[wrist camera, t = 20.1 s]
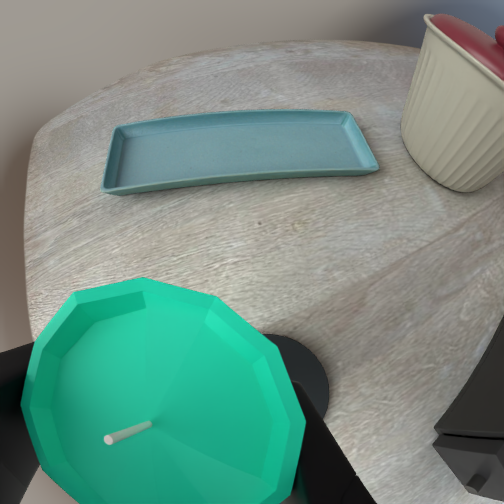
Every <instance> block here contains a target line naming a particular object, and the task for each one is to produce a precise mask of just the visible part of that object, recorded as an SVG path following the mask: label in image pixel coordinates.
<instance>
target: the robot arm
mask: <svg viewBox="0 0 504 504" xmlns="http://www.w3.org/2000/svg"><path fill="white" fill-rule="evenodd" d="M34 343H35V342H32V343H29V344H26V345H23V346H20V347H17V348H14V349H11V350H8V351H5V352H2V353H0V504H20V502H21V500H22V498H23V496H24V494H25V492H26V490H27V488H28V486H29V484H30V482H31V480H32V478H33V476H34V475H35V473H36V471H37V469H38V467H39V465H40V463H39V460H38V458H37V455H36V452H35V450H34V447H33V444H32V441H31V438H30V435H29V432H28V429H27V426H26V422H25V419H24V415H23V412H22V408H21V399H22V394H23V388H24V383H25V379H26V374H27V370H28V366H29V361H30V357H31V354H32V350H33V346H34ZM291 383H292V386H293V389H294V391H295V394H296V396H297V399H298V402H299V404H300V407H301V409H302V412H303V415H304V417H305V420H306V424H305V430H304V435H303V440H302V445H301V450H300V455H299V460H298V464H297V469H296V473H295V478H294V482H293V486H292V490H291V494H290V496H288V497H287V498H286V499H285V500H283V501H282V502H281V503H280V504H377V503H376V502H375V500H374V499H373V498H372V496H371V495H370V493H369V492H368V490H367V489H366V488H365V486H364V485H363V483H362V481H361V480H360V478H359V477H358V476H357V475H356V472H355V471H354V469H353V468H352V466H351V464H350V463H349V461H348V460H347V458H346V456H345V455H344V453H343V452H342V450H341V448H340V447H339V445H338V444H337V442H336V440H335V439H334V437H333V435H332V434H331V432H330V431H329V429H328V427H327V426H326V424H325V422H324V421H323V419H322V418H321V416H320V414H319V413H318V411H317V409H316V408H315V406H314V404H313V403H312V401H311V399H310V398H309V396H308V394H307V393H306V391H305V389H304V388H303V386H302V384H301V383H300V382H296V381H291ZM355 475H356V476H355Z"/></svg>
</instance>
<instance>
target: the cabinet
mask: <svg viewBox="0 0 504 504" xmlns="http://www.w3.org/2000/svg"><path fill="white" fill-rule="evenodd" d="M434 428H435V430H436V431H437V432H438V434H439V435H447V436H455V437H462V436H461V435H465V436H477V437H494V438H504V316H503V318H502V320H501V323H500V325H499V327H498V329H497V331H496V333H495V335H494V337H493V339H492V340H491V342H490V344H489V346H488V348H487V350H486V351H485V353H484V355H483V357H482V358H481V360H480V362H479V364H478V365H477V367H476V369H475V370H474V372H473V373H472V375H471V377H470V378H469V380H468V381H467V383H466V384H465V386H464V387H463V389H462V390H461V392H460V393H459V395H458V396H457V397H456V399H455V400H454V402H453V403H452V404H451V406H450V407H449V409H448V410H447V411H446V413H445V414H444V415H443V416H442V418H441V419H440V420H439V422H438V423H437V424H436V425H435V427H434Z"/></svg>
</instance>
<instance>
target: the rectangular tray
mask: <svg viewBox="0 0 504 504" xmlns="http://www.w3.org/2000/svg"><path fill="white" fill-rule="evenodd" d="M379 168H380V166H379V164H378V162H377V160H376V158H375V156H374V154H373V152H372V150H371V149H370V147H369V145H368V143H367V141H366V139H365V137H364V135H363V133H362V132H361V130H360V128H359V126H358V124H357V123H356V121H355V119H354V117H353V115H352V114H351V113H350V112H347V111H333V110H309V109H261V110H238V111H222V112H209V113H198V114H189V115H180V116H172V117H164V118H158V119H151V120H144V121H138V122H133V123H127V124H122V125H117V126H115V127H114V128H113V132H112V136H111V141H110V145H109V150H108V154H107V159H106V163H105V168H104V173H103V178H102V182H101V187H100V188H101V192H103V193H107V194H112V195H118V196H121V195H127V194H134V193H141V192H148V191H156V190H164V189H173V188H181V187H190V186H199V185H208V184H218V183H228V182H240V181H252V180H266V179H281V178H299V177H321V176H361V175H365V174H369V173H372V172H375V171H377V170H379Z"/></svg>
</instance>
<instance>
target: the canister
mask: <svg viewBox="0 0 504 504" xmlns="http://www.w3.org/2000/svg"><path fill="white" fill-rule="evenodd" d="M424 21H425V23H426V24H427V29H426V33H425V37H424V40H423V44H422V48H421V51H420V55H419V59H418V62H417V66H416V69H415V73H414V76H413V79H412V83H411V86H410V89H409V93H408V96H407V100H406V103H405V106H404V110H403V113H402V118H401V134H402V139H403V141H404V145H405V146H406V148H407V151H408V152H409V153H410V155H411V157H412V158H413V159H414V160H415V162H416V163H417V164H418V165H419V166H420V168H421V169H423V170H424V171H425V172H426V174H428V175H429V176H431V178H432V179H434V180H436V181H437V182H438V183H440V184H442V185H443V186H444V187H448V188H449V189H451V190H455V191H458V192H473V191H476V190H478V189H481V188H482V187H484V186H485V185H487V184H488V183H490V182H491V181H492V180H494V179H495V178H496V177H497V176H499V175H500V174H501V173H503V172H504V26H503V25H502V26H498V27H497V29H496V31H495V38H496V40H494V39H493V38H491V37H490V36H488V35H487V34H485V33H484V32H482V31H481V30H479V29H477V28H476V27H474V26H472V25H470V24H468V23H466V22H464V21H462V20H460V19H458V18H456V17H453V16H450V15H446V14H437V15H431V14H426V15H424Z"/></svg>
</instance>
